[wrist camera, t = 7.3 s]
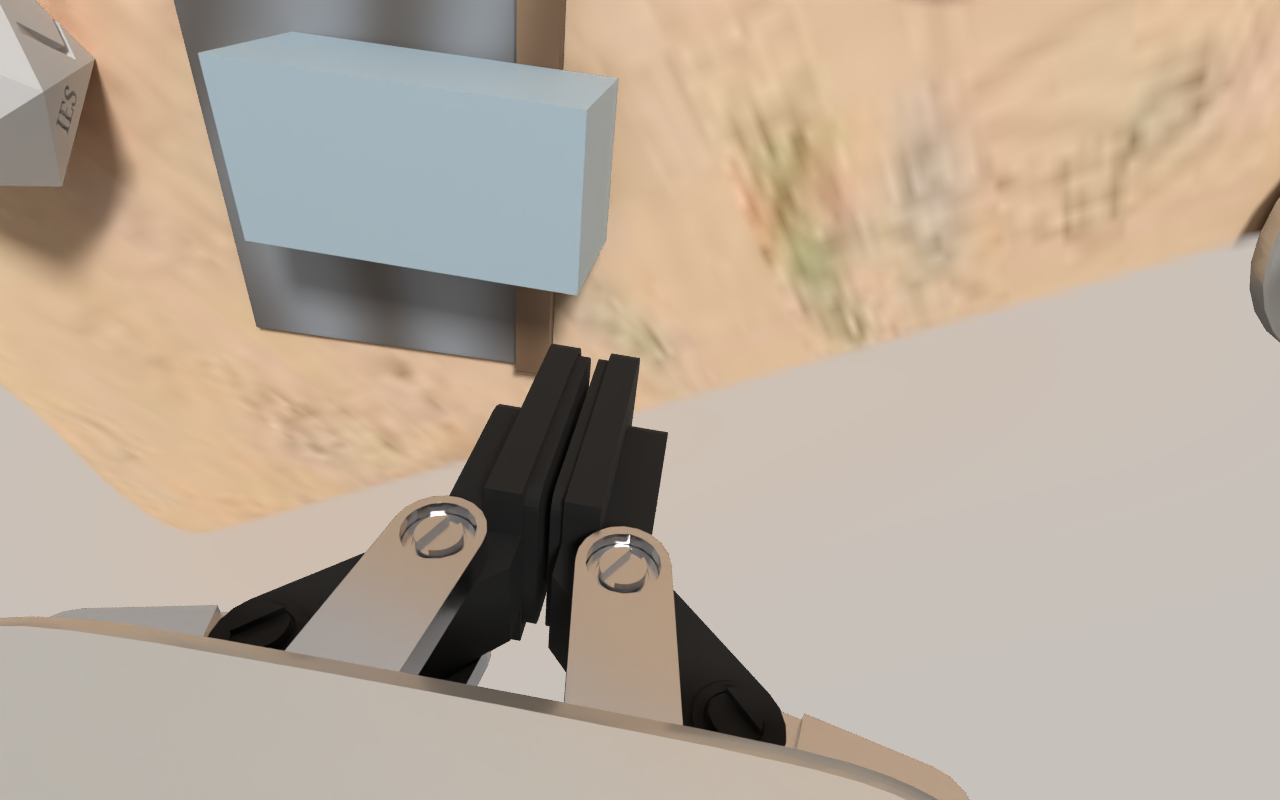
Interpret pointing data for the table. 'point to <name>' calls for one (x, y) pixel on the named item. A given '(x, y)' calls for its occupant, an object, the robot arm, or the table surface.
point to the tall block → (416, 157)
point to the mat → (363, 290)
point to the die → (38, 94)
